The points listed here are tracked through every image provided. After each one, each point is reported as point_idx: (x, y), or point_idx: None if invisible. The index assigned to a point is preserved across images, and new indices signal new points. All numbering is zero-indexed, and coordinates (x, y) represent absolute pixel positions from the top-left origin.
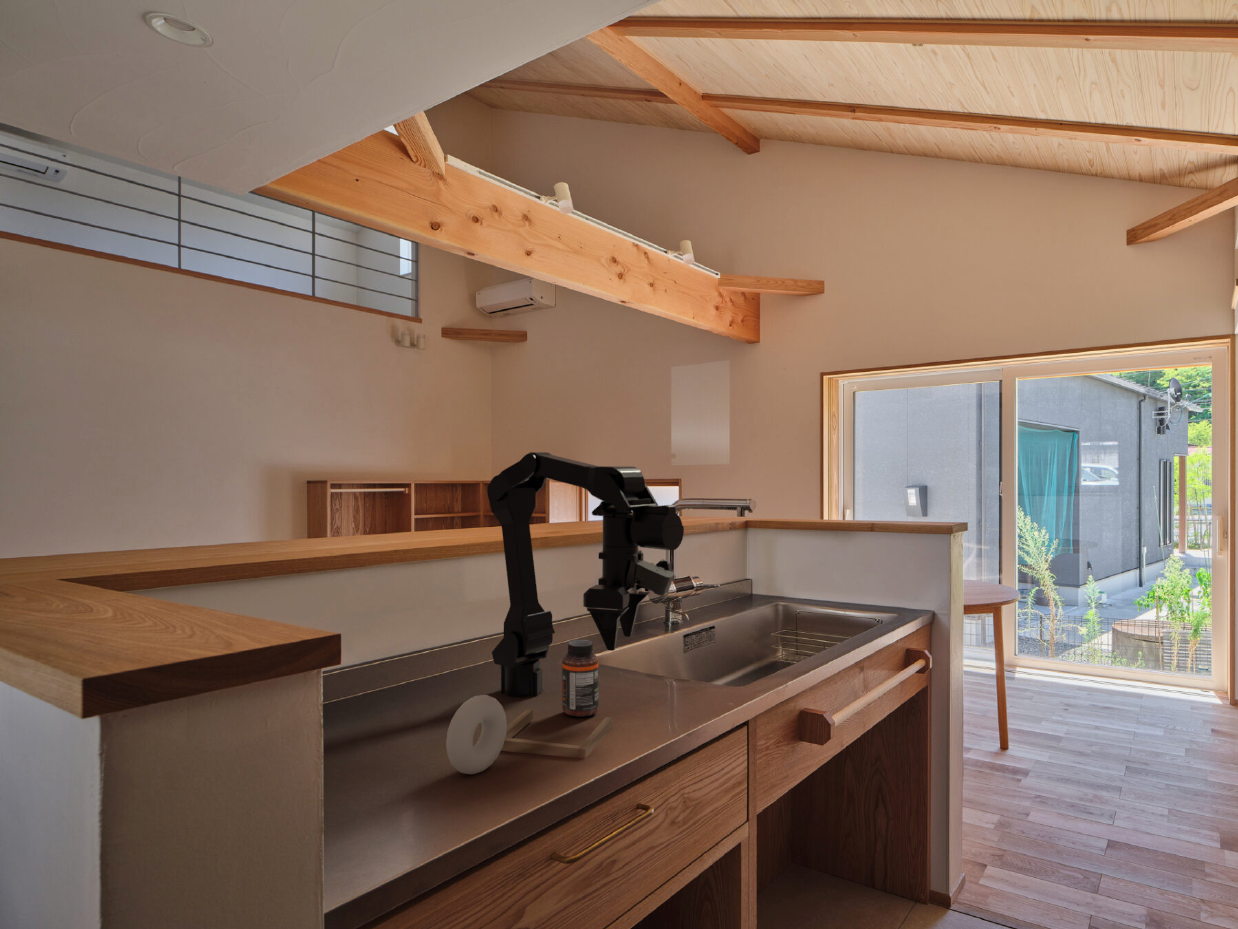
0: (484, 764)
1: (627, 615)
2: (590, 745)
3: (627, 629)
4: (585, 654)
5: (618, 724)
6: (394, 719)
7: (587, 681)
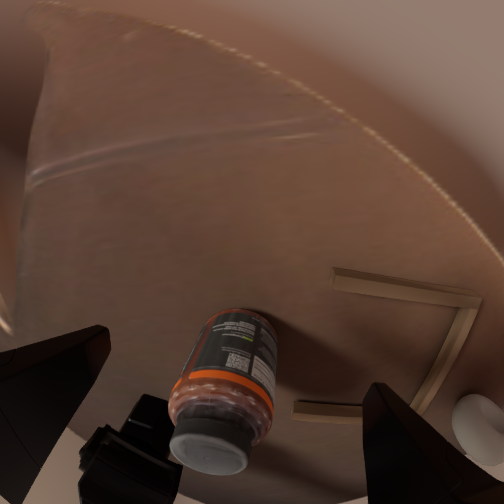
0: (484, 397)
1: (48, 399)
2: (462, 294)
3: (92, 357)
4: (243, 428)
5: (291, 255)
6: (291, 493)
7: (266, 371)
